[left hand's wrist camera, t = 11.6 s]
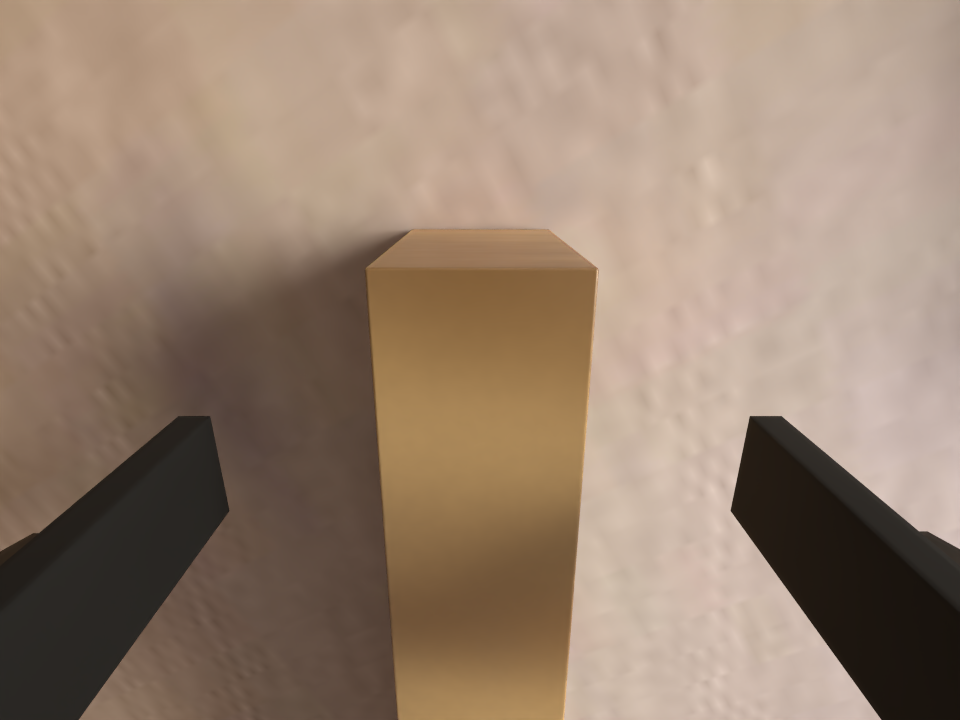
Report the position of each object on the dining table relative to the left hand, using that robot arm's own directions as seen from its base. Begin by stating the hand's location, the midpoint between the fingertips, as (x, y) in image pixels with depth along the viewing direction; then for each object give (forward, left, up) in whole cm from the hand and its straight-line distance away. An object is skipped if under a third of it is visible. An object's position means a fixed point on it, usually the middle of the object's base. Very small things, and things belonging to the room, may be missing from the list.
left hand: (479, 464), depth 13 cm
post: (+22, 0, -6) cm, 23 cm away
